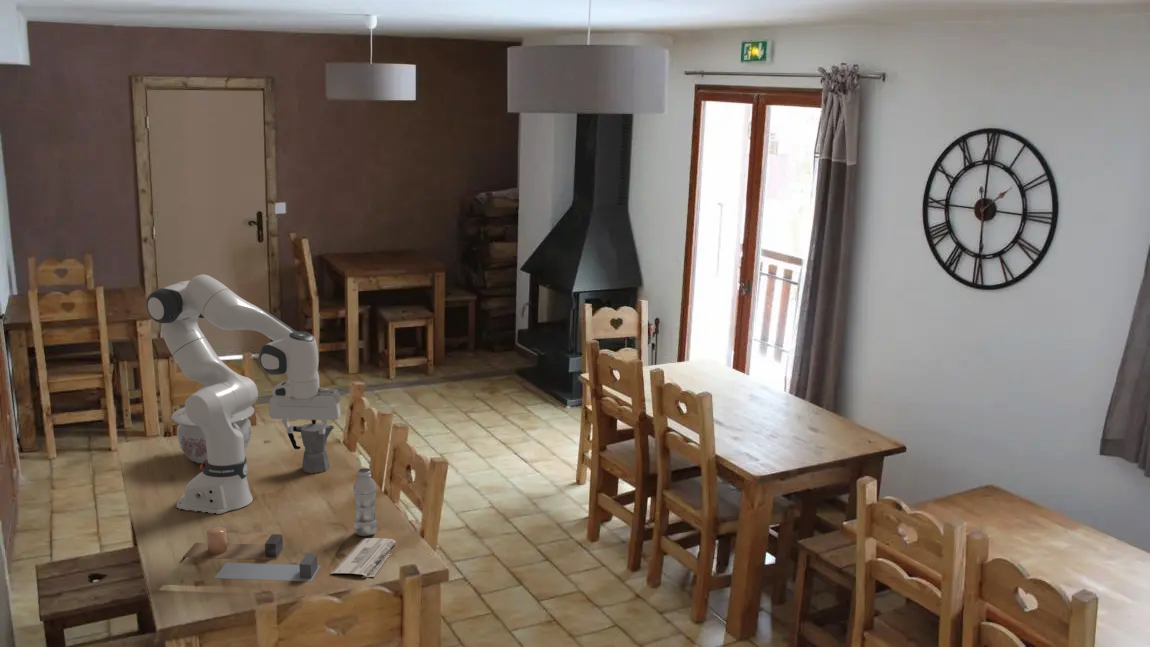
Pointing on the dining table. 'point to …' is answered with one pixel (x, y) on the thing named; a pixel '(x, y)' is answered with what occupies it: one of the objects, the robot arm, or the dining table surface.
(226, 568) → the grey strip
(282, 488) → the dining table surface
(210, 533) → the canister
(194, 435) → the chamber pot
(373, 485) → the plastic bottle
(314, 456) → the coffeepot
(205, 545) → the walnut strip
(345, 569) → the newspaper
